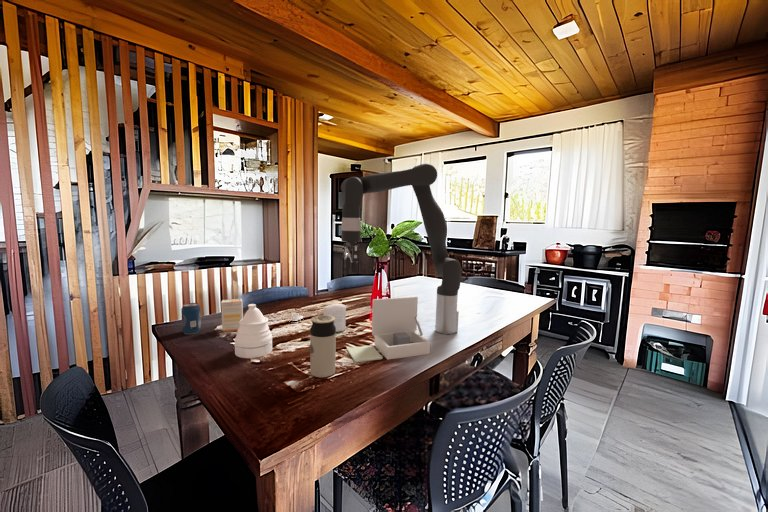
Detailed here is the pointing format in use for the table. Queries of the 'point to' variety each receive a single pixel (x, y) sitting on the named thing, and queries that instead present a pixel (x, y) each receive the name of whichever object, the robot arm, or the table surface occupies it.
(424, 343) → the case
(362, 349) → the mat
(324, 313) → the photo printer
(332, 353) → the travel mug
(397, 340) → the block
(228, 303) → the supplement box
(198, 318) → the soda can
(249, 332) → the honey pot
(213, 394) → the table surface
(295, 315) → the teacup and saucer
